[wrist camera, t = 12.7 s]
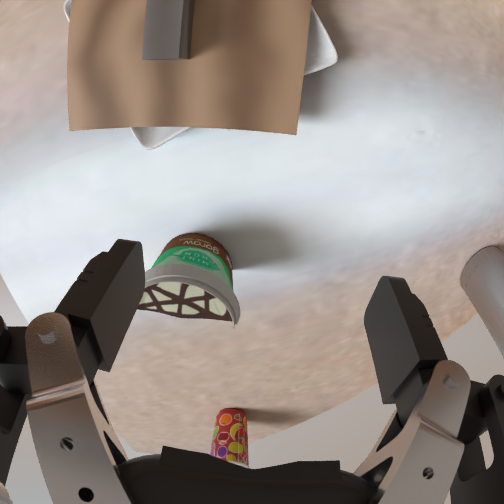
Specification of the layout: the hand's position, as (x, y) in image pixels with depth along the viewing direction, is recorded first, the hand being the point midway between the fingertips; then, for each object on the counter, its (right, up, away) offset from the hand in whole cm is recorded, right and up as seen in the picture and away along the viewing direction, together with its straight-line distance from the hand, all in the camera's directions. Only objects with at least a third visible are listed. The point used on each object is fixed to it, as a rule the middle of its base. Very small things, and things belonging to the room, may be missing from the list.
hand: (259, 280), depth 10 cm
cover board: (-7, +22, +11) cm, 26 cm away
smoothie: (-5, -35, +53) cm, 64 cm away
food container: (-7, +2, +28) cm, 29 cm away
